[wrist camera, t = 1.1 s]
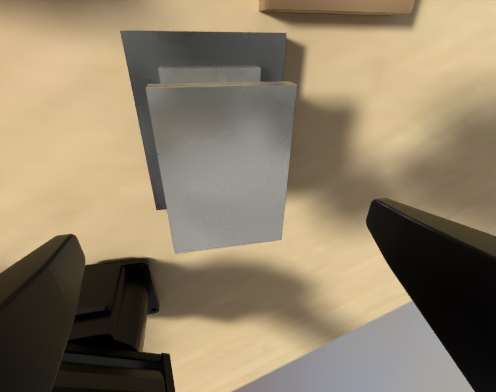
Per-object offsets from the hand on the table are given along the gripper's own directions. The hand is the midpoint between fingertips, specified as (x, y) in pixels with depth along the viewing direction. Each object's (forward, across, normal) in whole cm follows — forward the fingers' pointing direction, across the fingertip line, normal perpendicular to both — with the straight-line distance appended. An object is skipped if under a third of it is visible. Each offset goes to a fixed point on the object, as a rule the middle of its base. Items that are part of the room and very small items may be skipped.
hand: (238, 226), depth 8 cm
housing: (+9, 0, 0) cm, 9 cm away
